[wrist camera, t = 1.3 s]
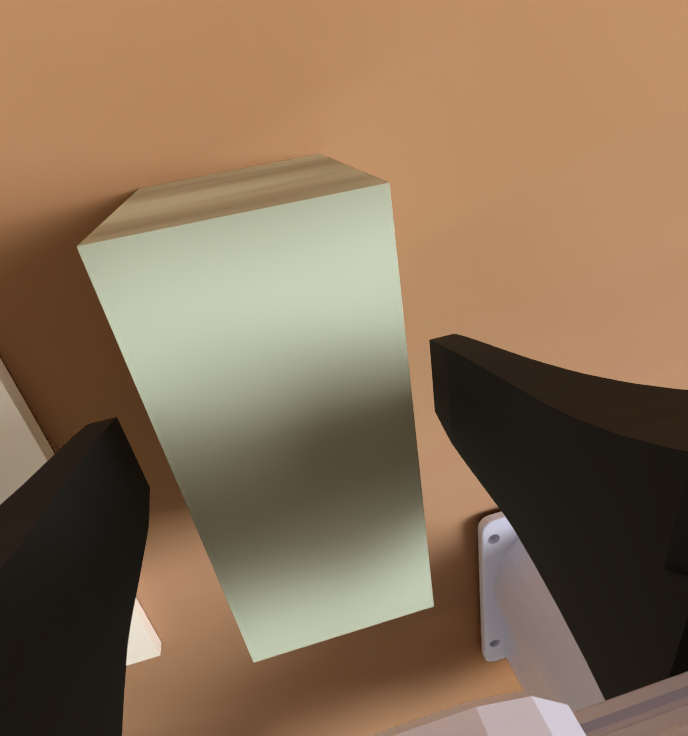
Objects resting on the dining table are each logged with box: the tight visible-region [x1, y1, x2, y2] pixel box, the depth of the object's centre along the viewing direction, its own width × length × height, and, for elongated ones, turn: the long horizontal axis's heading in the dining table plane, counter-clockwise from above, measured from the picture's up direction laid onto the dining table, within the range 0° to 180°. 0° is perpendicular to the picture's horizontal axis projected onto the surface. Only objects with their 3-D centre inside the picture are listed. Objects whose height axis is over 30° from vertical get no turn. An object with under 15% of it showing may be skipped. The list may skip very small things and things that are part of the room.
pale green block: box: [77, 154, 434, 662], centre depth 12 cm, size 10×4×6 cm, turn 10°
